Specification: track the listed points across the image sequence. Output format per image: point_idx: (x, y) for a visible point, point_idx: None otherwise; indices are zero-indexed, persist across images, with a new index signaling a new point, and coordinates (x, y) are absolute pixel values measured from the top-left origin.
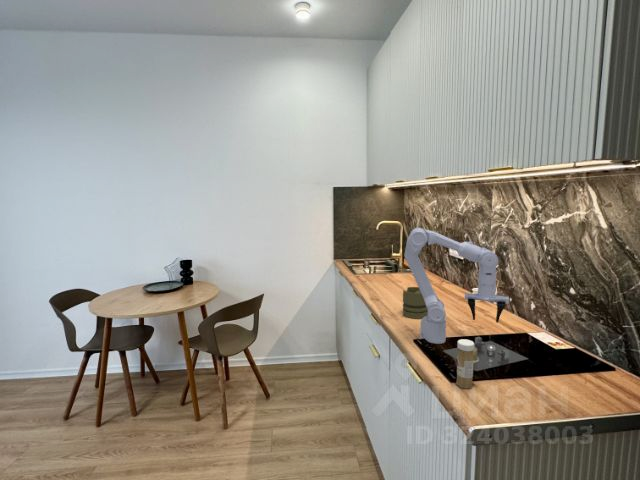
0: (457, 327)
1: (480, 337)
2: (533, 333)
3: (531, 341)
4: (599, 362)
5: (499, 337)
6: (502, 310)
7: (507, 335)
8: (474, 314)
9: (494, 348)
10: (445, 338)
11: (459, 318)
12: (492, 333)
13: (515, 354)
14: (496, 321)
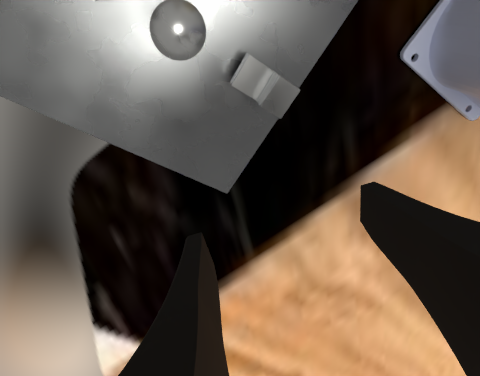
0: (373, 252)
1: (270, 112)
2: (123, 354)
3: (97, 298)
4: None
5: None
6: (137, 348)
7: None
8: (398, 205)
9: (151, 17)
10: (446, 48)
11: (370, 317)
12: (245, 278)
13: (58, 99)
14: (199, 237)
